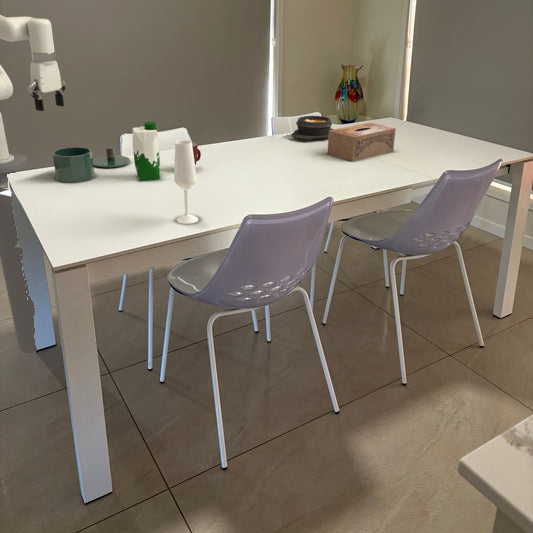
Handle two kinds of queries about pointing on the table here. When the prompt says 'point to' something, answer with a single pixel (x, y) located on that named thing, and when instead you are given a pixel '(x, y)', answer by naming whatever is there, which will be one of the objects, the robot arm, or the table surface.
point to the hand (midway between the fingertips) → (50, 108)
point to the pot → (73, 164)
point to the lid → (111, 159)
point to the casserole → (312, 127)
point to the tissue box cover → (361, 141)
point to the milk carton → (146, 152)
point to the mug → (196, 152)
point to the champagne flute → (185, 175)
